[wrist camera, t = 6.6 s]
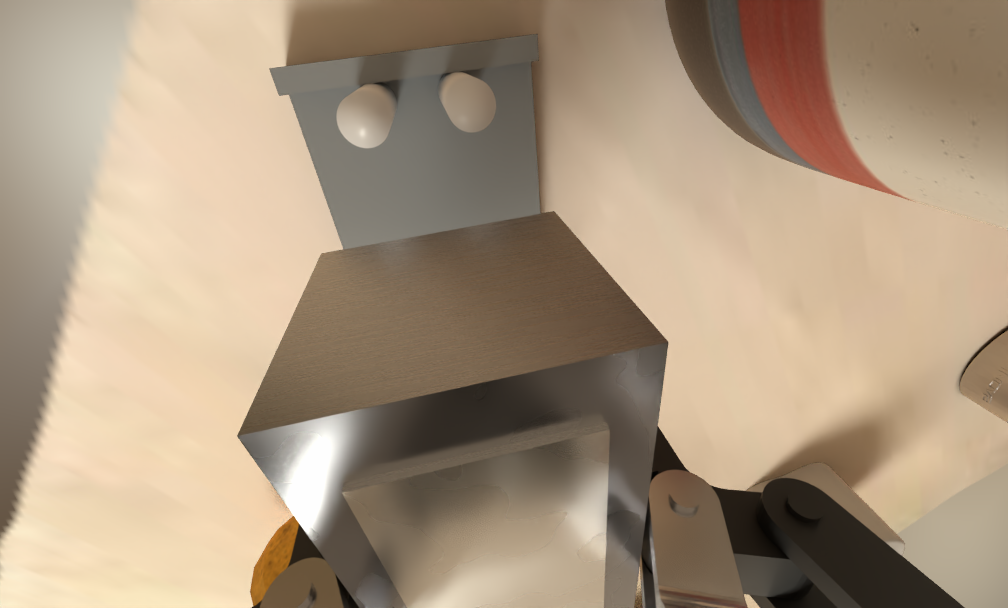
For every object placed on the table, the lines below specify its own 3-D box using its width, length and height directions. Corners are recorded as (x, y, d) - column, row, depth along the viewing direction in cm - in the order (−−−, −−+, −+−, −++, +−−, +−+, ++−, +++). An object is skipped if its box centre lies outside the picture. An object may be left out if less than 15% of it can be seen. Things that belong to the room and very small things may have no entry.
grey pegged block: (524, 35, 16) (572, 28, 11) (546, 366, 25) (578, 441, 20) (285, 66, 15) (223, 73, 10) (399, 397, 24) (395, 484, 19)
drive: (554, 211, 9) (674, 349, 5) (568, 476, 15) (631, 653, 10) (321, 253, 9) (232, 446, 4) (424, 512, 14) (428, 712, 10)
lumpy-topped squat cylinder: (836, 453, 37) (938, 550, 30) (821, 521, 44) (900, 613, 37) (728, 493, 38) (804, 599, 30) (731, 555, 45) (792, 653, 37)
